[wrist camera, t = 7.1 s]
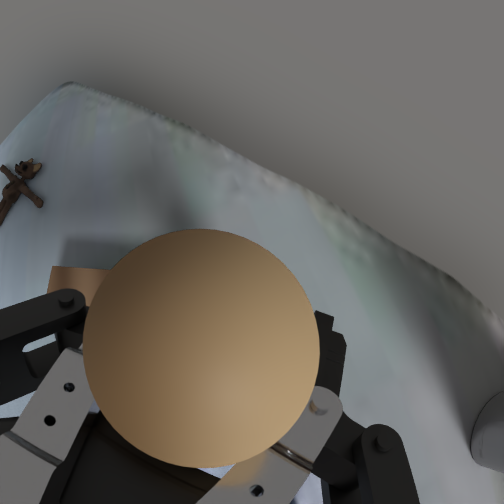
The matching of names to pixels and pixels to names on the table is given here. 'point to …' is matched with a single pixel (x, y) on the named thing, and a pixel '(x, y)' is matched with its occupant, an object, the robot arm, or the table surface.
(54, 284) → the walnut rail
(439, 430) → the table surface
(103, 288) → the oak post
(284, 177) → the table surface
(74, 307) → the robot arm
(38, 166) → the brown toy figure
